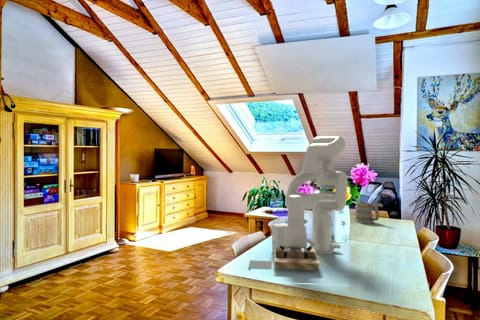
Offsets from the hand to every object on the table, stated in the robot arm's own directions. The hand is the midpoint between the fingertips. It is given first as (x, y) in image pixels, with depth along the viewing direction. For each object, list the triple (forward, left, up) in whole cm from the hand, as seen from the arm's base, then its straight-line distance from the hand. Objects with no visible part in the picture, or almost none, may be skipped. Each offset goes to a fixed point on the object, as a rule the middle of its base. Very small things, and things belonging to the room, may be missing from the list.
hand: (295, 260), depth 151 cm
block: (0, 0, -2) cm, 2 cm away
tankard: (-59, -98, -3) cm, 114 cm away
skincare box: (+6, -18, -3) cm, 19 cm away
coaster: (+16, +2, -2) cm, 16 cm away
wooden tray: (0, 0, -2) cm, 2 cm away
